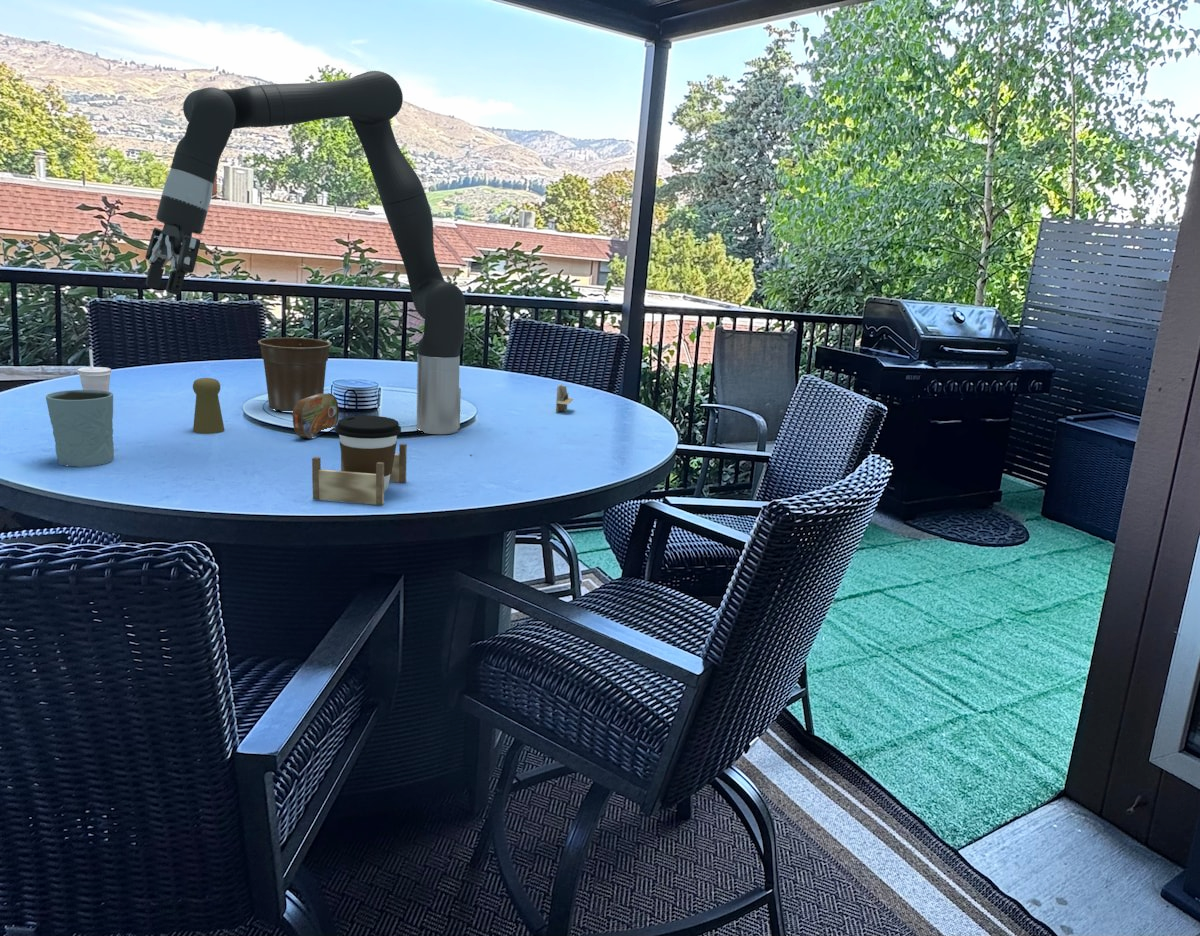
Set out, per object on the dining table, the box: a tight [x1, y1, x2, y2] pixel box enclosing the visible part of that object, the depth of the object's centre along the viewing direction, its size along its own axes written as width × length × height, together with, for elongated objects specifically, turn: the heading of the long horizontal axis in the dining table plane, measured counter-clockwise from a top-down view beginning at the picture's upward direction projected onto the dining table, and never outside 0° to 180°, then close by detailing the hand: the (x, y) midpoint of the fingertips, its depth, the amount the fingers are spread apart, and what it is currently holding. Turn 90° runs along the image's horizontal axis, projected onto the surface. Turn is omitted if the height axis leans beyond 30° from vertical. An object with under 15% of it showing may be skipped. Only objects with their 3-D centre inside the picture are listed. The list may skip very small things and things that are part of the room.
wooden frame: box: [311, 443, 408, 506], centre depth 144 cm, size 12×14×7 cm
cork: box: [192, 377, 225, 435], centre depth 176 cm, size 6×6×11 cm
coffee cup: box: [334, 415, 402, 492], centre depth 144 cm, size 11×11×12 cm
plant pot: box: [257, 337, 332, 412], centre depth 201 cm, size 16×16×16 cm
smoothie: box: [77, 348, 113, 392], centre depth 183 cm, size 6×6×14 cm
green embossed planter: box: [45, 389, 115, 467], centre depth 149 cm, size 10×10×12 cm
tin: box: [292, 393, 340, 439], centre depth 180 cm, size 15×3×8 cm, turn 168°
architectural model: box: [555, 383, 574, 414], centre depth 221 cm, size 3×7×7 cm, turn 171°
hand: (161, 290), depth 150 cm, fingers open, 8 cm apart
